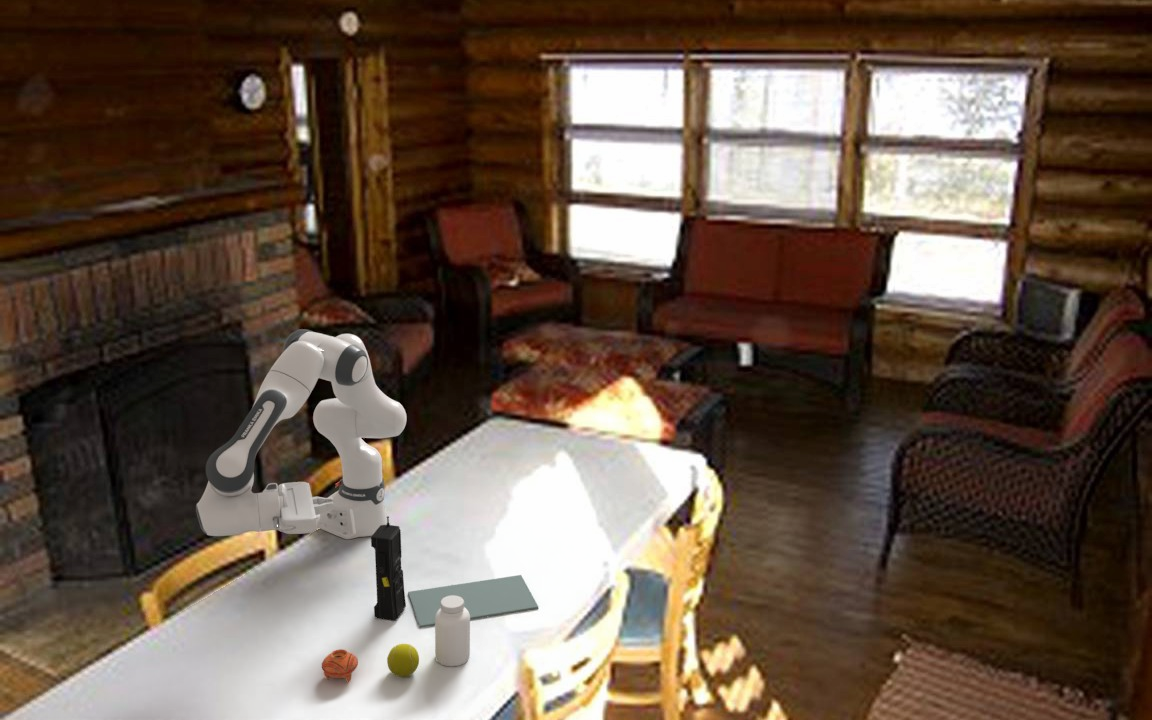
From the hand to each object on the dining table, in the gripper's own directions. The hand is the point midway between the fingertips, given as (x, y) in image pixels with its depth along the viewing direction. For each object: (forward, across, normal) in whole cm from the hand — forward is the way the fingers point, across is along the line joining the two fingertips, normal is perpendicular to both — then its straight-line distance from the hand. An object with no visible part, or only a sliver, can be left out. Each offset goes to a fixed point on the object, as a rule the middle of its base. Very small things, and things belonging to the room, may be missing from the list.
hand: (333, 503), depth 239 cm
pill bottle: (+23, -22, +32) cm, 45 cm away
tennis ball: (+11, -25, +32) cm, 42 cm away
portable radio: (+12, 0, +32) cm, 34 cm away
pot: (-2, -22, +32) cm, 39 cm away
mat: (+33, 0, +32) cm, 46 cm away
